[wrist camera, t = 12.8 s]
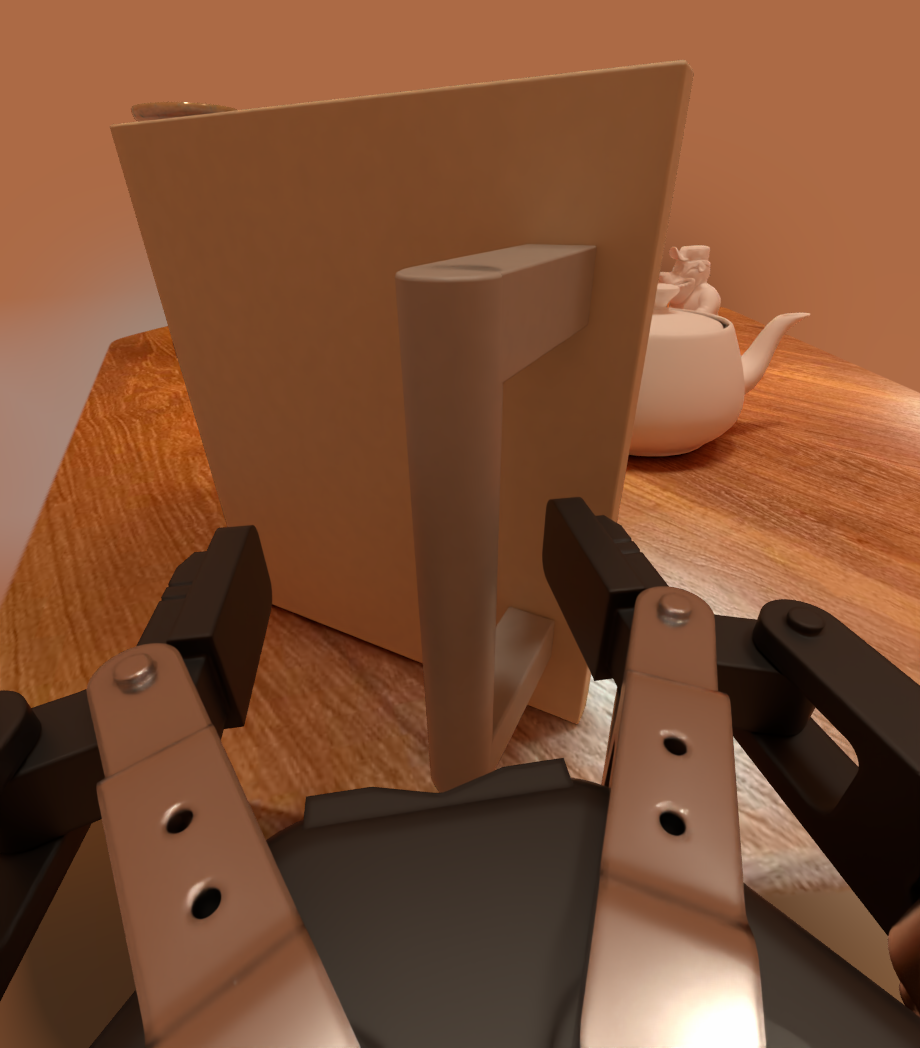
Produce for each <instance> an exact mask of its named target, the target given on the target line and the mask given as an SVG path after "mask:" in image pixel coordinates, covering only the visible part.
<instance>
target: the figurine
mask: <svg viewBox="0 0 920 1048" xmlns="http://www.w3.org/2000/svg"><path fill="white" fill-rule="evenodd" d="M709 253H710V247H708V246H700V245H699V246H698V245H697V246H685V247H682V248H681V249H680V251H678V249H677V248H676V247H672V248H671V249H670V251H669V255H670V257H671V258H673V259H678V260H677V261H676V262H675V266H674V268H673V270H672V272H660V274H659V283H664V284H672V285H675V286H678V287H679V289H680V291H679V292H678V294H677V295H676V296H675V297H673V298H672V299H671V300H670V301H669V302H670V303H669V308H676V309H686V310H693V311H700V312H705V313H710V314H714V315H717V316H718V310H719V308H720V304H721V300H720V296H719V294H718V292H717V291H716V289H715V288H714V287H712V286H711V285H709V284H707V283H706V282H707V279H708V277H709V276H710V265H711V264H710V262H709V261H708V258H709Z"/></svg>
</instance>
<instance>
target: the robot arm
mask: <svg viewBox="0 0 920 1048" xmlns="http://www.w3.org/2000/svg"><path fill="white" fill-rule="evenodd" d="M542 563H543V570H544V574H545V577H546V580H547V582H548V584H549V586H550V588H551V590H552V592H553V595H554V597H555V599H556V601H557V603H558V605H559V607H560V609H561V611H562V613H563V616H564V618H565V620H566V622H567V624H568V626H569V628H570V630H571V632H572V634H573V637H574V639H575V641H576V643H577V645H578V647H579V649H580V651H581V653H582V655H583V658H584V660H585V662H586V664H587V666H588V668H589V670H590V672H591V674H592V676H593V679H594V681H597V680H605V679H612V678H613V679H614V681H615V683H616V685H617V692H616V696H615V702H614V708H613V714H612V721H611V727H610V733H609V740H608V746H607V752H606V759H605V765H604V771H603V777H602V783H601V785H600V784H597V783H594V782H590V781H586V780H581V779H575V778H570V775H569V772H568V769H567V767H566V764H565V761H564V758H559V759H553V760H546V761H540V762H533V763H526V764H520V765H513V766H506V767H502V768H500V769H497V770H495V771H493V772H490V773H488V774H485V775H483V776H481V777H478V778H476V779H474V780H471V781H469V782H467V783H464V784H462V785H460V786H457V787H455V788H453V789H450V790H448V791H445V792H441V793H430V792H420V791H410V790H400V789H389V788H379V787H367V788H361V789H354V790H348V791H341V792H334V793H328V794H321V795H315V796H308V797H306V802H305V812H304V819H303V820H301V821H299V822H296V823H294V824H292V825H290V826H289V827H287V828H285V829H283V830H281V831H279V832H278V833H276V834H275V835H273V836H272V837H270V838H269V839H268V840H265V838H264V835H263V833H262V831H261V829H260V827H259V824H258V822H257V820H256V818H255V815H254V813H253V811H252V809H251V807H250V804H249V802H248V800H247V798H246V796H245V793H244V791H243V789H242V787H241V785H240V782H239V780H238V778H237V776H236V773H235V771H234V769H233V767H232V765H231V762H230V760H229V758H228V756H227V754H226V751H225V749H224V747H223V745H222V743H221V737H222V733H223V729H227V728H235V727H242V726H244V724H245V720H246V715H247V711H248V707H249V702H250V698H251V694H252V689H253V685H254V681H255V677H256V672H257V668H258V664H259V659H260V655H261V651H262V646H263V642H264V638H265V633H266V629H267V625H268V621H269V616H270V612H271V607H272V586H271V580H270V576H269V573H268V569H267V565H266V561H265V557H264V553H263V549H262V545H261V542H260V538H259V534H258V531H257V529H256V527H255V526H254V525H246V526H235V527H223V528H218V529H217V530H216V532H215V534H214V536H213V538H212V540H211V543H210V545H209V547H208V549H207V551H204V552H194V553H193V554H192V555H191V556H190V557H188V558H187V559H186V560H185V561H184V562H183V563H182V564H180V565H179V566H178V567H177V568H176V570H175V572H174V574H173V576H172V578H171V580H170V582H169V584H168V585H169V587H167V588H166V590H165V592H164V593H163V595H162V597H161V598H162V601H159V603H158V605H157V607H156V609H155V611H154V613H153V615H152V617H151V619H150V621H149V623H148V624H147V626H146V628H145V630H144V632H143V634H142V636H141V638H140V640H139V642H138V644H137V646H136V647H133V648H131V649H128V650H126V651H123V652H121V653H119V654H118V655H116V656H114V657H112V658H111V659H110V660H108V661H107V662H105V663H104V664H103V665H102V666H101V667H100V668H99V669H98V670H97V671H96V672H95V673H94V674H93V676H92V677H91V679H90V681H89V683H88V686H87V689H86V690H83V691H81V692H78V693H75V694H72V695H69V696H66V697H63V698H60V699H57V700H54V701H51V702H48V703H45V704H42V705H39V706H36V707H33V708H31V707H30V706H29V704H28V703H27V701H26V700H25V698H24V697H23V696H22V695H21V694H19V693H17V692H14V691H0V1001H1V999H2V997H3V995H4V993H5V991H6V989H7V987H8V985H9V983H10V981H11V979H12V977H13V975H14V973H15V972H16V970H17V968H18V966H19V964H20V962H21V960H22V958H23V956H24V954H25V952H26V950H27V948H28V946H29V944H30V942H31V940H32V938H33V937H34V935H35V933H36V931H37V929H38V927H39V925H40V923H41V921H42V919H43V917H44V915H45V913H46V911H47V909H48V907H49V905H50V903H51V902H52V900H53V898H54V896H55V894H56V892H57V890H58V888H59V886H60V884H61V882H62V880H63V878H64V876H65V874H66V872H67V870H68V868H69V866H70V865H71V863H72V861H73V858H74V857H75V855H76V853H77V851H78V849H79V847H80V845H81V843H82V841H83V839H84V837H85V835H86V833H87V831H88V829H89V828H90V825H91V823H93V822H95V821H98V820H100V819H102V822H103V827H104V831H105V836H106V841H107V846H108V851H109V856H110V861H111V866H112V871H113V876H114V881H115V886H116V891H117V896H118V901H119V906H120V911H121V916H122V921H123V926H124V931H125V936H126V941H127V946H128V951H129V956H130V961H131V965H132V971H133V976H134V981H135V986H136V990H135V991H134V993H133V994H132V995H131V997H130V998H129V999H128V1000H127V1001H126V1003H125V1004H124V1005H123V1006H122V1008H121V1009H120V1010H119V1011H118V1013H117V1014H116V1015H115V1016H114V1017H113V1019H112V1020H111V1021H110V1023H109V1024H108V1025H107V1026H106V1027H105V1029H104V1030H103V1031H102V1032H101V1034H100V1035H99V1036H98V1037H97V1039H96V1040H95V1041H94V1042H93V1043H92V1045H91V1046H90V1047H89V1048H920V685H918V684H917V683H916V682H915V681H913V680H912V679H911V678H910V677H908V676H907V675H906V674H905V673H903V672H902V671H901V670H900V669H899V668H897V667H896V666H895V665H894V664H892V663H891V662H890V661H889V660H887V659H886V658H885V657H884V656H882V655H881V654H880V653H879V652H877V651H876V650H875V649H874V648H872V647H871V646H870V645H869V644H867V643H866V642H865V641H864V640H863V639H861V638H860V637H859V636H858V635H856V634H855V633H854V632H853V631H851V630H850V629H849V628H848V627H846V626H845V625H844V624H843V623H841V622H840V621H839V620H838V619H836V618H835V617H834V616H832V615H831V614H829V613H828V612H826V611H824V610H822V609H820V608H818V607H816V606H813V605H811V604H808V603H804V602H801V601H796V600H786V599H781V600H774V601H770V602H768V603H766V604H765V605H764V606H763V607H762V609H761V611H760V614H759V616H758V619H757V620H755V619H746V618H737V617H729V616H721V615H715V614H714V613H713V611H712V609H711V608H710V606H709V605H708V604H707V603H706V602H705V601H704V600H702V599H701V598H700V597H698V596H696V595H695V594H692V593H690V592H688V591H685V590H683V589H679V588H674V587H669V586H668V585H667V583H666V582H665V581H664V580H663V578H662V577H661V576H660V575H659V573H658V572H657V571H656V569H655V568H654V567H653V566H652V564H651V563H650V562H649V561H648V559H647V558H646V557H645V555H644V554H643V553H642V552H640V549H639V548H638V547H637V545H636V544H635V543H634V541H631V538H630V536H629V535H628V534H627V533H626V531H625V530H624V529H623V527H622V526H621V525H619V524H618V523H616V522H614V521H613V520H611V519H609V518H608V517H606V516H605V515H598V516H595V515H594V514H593V512H592V511H591V510H590V508H589V507H588V505H587V504H586V503H585V501H584V500H583V499H582V498H581V497H571V498H559V499H550V500H549V501H548V502H547V506H546V514H545V526H544V537H543V549H542ZM815 707H816V708H817V709H818V710H819V711H820V712H821V713H822V714H823V715H824V716H825V717H826V718H827V719H828V720H829V721H830V722H831V724H832V725H833V726H834V727H835V728H836V729H837V730H838V731H839V732H840V733H841V734H842V735H843V736H844V737H845V738H846V739H847V740H848V741H849V742H850V744H851V745H852V747H853V748H854V750H855V752H856V755H857V758H858V762H859V767H858V766H857V765H856V764H855V763H854V762H853V761H852V760H851V759H850V758H849V757H848V756H847V755H846V754H845V753H844V751H843V750H842V749H841V748H840V747H839V746H838V745H837V744H836V743H835V742H834V741H833V740H832V739H831V738H830V737H829V736H828V735H827V734H826V733H825V732H824V731H823V729H822V728H821V727H820V726H819V725H818V724H817V723H816V722H815V721H814V720H813V719H812V718H811V715H812V713H813V711H814V709H815ZM733 737H734V738H735V739H736V741H737V742H738V743H739V744H740V746H741V747H742V748H743V750H744V751H745V752H746V753H747V755H748V756H749V757H750V759H751V760H752V761H753V762H754V764H755V765H756V766H757V768H758V769H759V770H760V772H761V773H762V774H763V775H764V777H765V778H766V779H767V781H768V782H769V783H770V784H771V786H772V787H773V788H774V790H775V791H776V792H777V793H778V795H779V796H780V797H781V799H782V800H783V801H784V802H785V804H786V805H787V806H788V808H789V809H790V810H791V812H792V813H793V814H794V815H795V817H796V818H797V819H798V821H799V822H800V823H801V824H802V826H803V827H804V828H805V830H806V831H807V832H808V833H809V835H810V836H811V837H812V839H813V840H814V841H815V843H816V844H817V845H818V846H819V848H820V849H821V850H822V852H823V853H824V854H825V855H826V857H827V858H828V859H829V861H830V862H831V863H832V864H833V866H834V867H835V868H836V870H837V871H838V872H839V873H840V875H841V876H842V877H843V879H844V880H845V881H846V883H847V884H848V885H849V886H850V888H851V889H852V890H853V892H854V893H855V894H856V895H857V897H858V898H859V899H860V901H861V902H862V903H863V904H864V906H865V907H866V908H867V910H868V911H869V912H870V914H871V915H872V916H873V917H874V919H875V920H876V921H877V923H878V924H879V925H880V926H881V928H882V929H883V930H884V932H885V933H886V934H887V935H888V950H889V955H890V959H891V962H892V965H893V968H894V970H895V972H896V974H897V976H898V978H899V980H900V985H899V991H900V995H901V998H902V1000H903V1003H904V1004H905V1005H903V1004H902V1003H901V1002H899V1001H898V1000H897V999H895V998H894V997H893V996H892V995H890V994H889V993H888V992H886V991H885V990H884V989H882V988H881V987H880V986H878V985H877V984H876V983H874V982H873V981H872V980H871V979H869V978H868V977H867V976H865V975H864V974H862V973H861V972H860V971H859V970H857V969H856V968H855V967H853V966H852V965H851V964H849V963H848V962H847V961H846V960H844V959H843V958H842V957H840V956H839V955H838V954H836V953H835V952H834V951H832V950H831V949H830V948H828V947H827V946H826V945H824V944H823V943H822V942H821V941H819V940H818V939H817V938H815V937H814V936H813V935H811V934H810V933H809V932H807V931H806V930H805V929H803V928H802V927H801V926H800V925H798V924H797V923H796V922H794V921H793V920H792V919H790V918H789V917H788V916H786V915H785V914H784V913H782V912H781V911H780V910H779V909H777V908H776V907H775V906H773V905H772V904H771V903H769V902H768V901H767V900H765V899H764V898H763V897H761V896H760V895H759V894H758V893H756V892H755V891H754V890H752V889H751V888H750V887H748V886H747V885H746V884H744V883H743V871H742V857H741V843H740V829H739V815H738V801H737V787H736V773H735V759H734V745H733Z"/></svg>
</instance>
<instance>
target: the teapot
mask: <svg viewBox="0 0 920 1048" xmlns="http://www.w3.org/2000/svg"><path fill="white" fill-rule="evenodd" d="M679 291H680V289H679V287H678V286H675V285H672V284H664V283H658V286H657V292H656V298H655V304H654V309H653V315H652V321H651V327H650V333H649V339H648V344H647V350H646V356H645V362H644V368H643V374H642V380H641V385H640V391H639V397H638V403H637V409H636V415H635V421H634V426H633V432H632V438H631V444H630V450H629V455H635V456H671V455H679V454H683V453H687V452H691V451H693V450H695V449H698V448H699V447H701V446H702V445H703V444H705V443H708V442H710V441H712V440H714V439H716V438H718V437H719V436H721V435H722V434H723V433H725V432H726V431H727V430H728V429H730V428H731V427H732V426H733V424H734V423H735V422H736V421H737V419H738V417H739V414H740V412H741V410H742V407H743V402H744V395H745V394H746V393H748V392H749V391H751V390H752V389H753V388H754V387H755V386H756V385H757V383H758V382H759V381H760V380H761V378H762V377H763V375H764V373H765V371H766V369H767V367H768V365H769V363H770V361H771V358H772V356H773V354H774V352H775V350H776V348H777V346H778V344H779V342H780V340H781V338H782V337H783V336H784V335H785V333H786V332H787V331H788V330H789V328H790V327H792V326H793V325H795V324H796V323H798V322H799V321H801V320H802V319H804V318H806V317H808V316H809V315H810V314H809V313H789V314H782V315H779V316H777V317H776V318H774V319H773V320H772V321H771V322H770V323H768V324H767V325H766V327H765V328H764V329H763V330H762V331H761V332H760V334H759V335H758V336H757V338H756V339H755V340H754V342H753V343H752V344H751V346H750V347H749V348H748V350H747V351H746V352H745V353H744V354H743V355H742V356H741V355H740V350H739V346H738V341H737V337H736V333H735V329H734V326H733V324H732V322H730V321H729V320H728V319H725V318H723V317H721V316H717V315H714V314H710V313H705V312H700V311H693V310H686V309H676V308H667V304H668V302H669V301H670V300H671V299H672V298H673V297H675V296H676V295H677V294H678V292H679Z"/></svg>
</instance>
